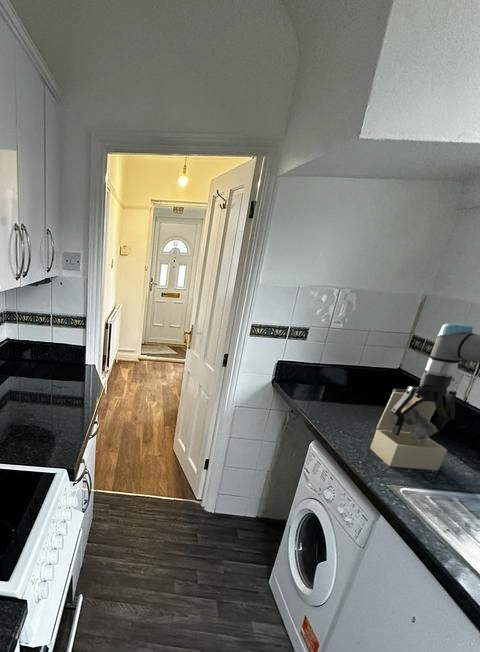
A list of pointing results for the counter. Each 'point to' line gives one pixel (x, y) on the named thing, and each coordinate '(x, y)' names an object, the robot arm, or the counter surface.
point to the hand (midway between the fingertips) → (413, 435)
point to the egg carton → (418, 425)
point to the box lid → (389, 417)
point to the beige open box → (407, 451)
